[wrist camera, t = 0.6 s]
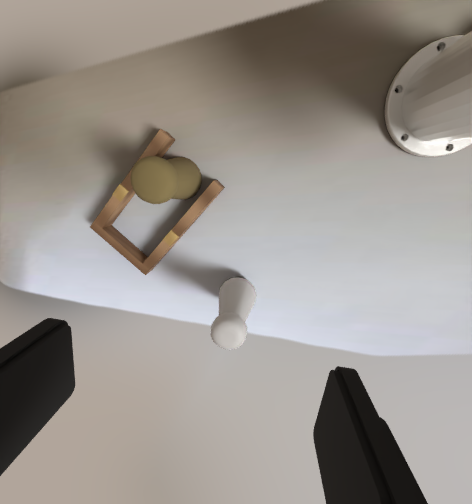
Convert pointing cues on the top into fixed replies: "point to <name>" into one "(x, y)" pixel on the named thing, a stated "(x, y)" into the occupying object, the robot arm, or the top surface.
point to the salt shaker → (233, 313)
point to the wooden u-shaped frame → (125, 194)
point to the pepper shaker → (165, 179)
